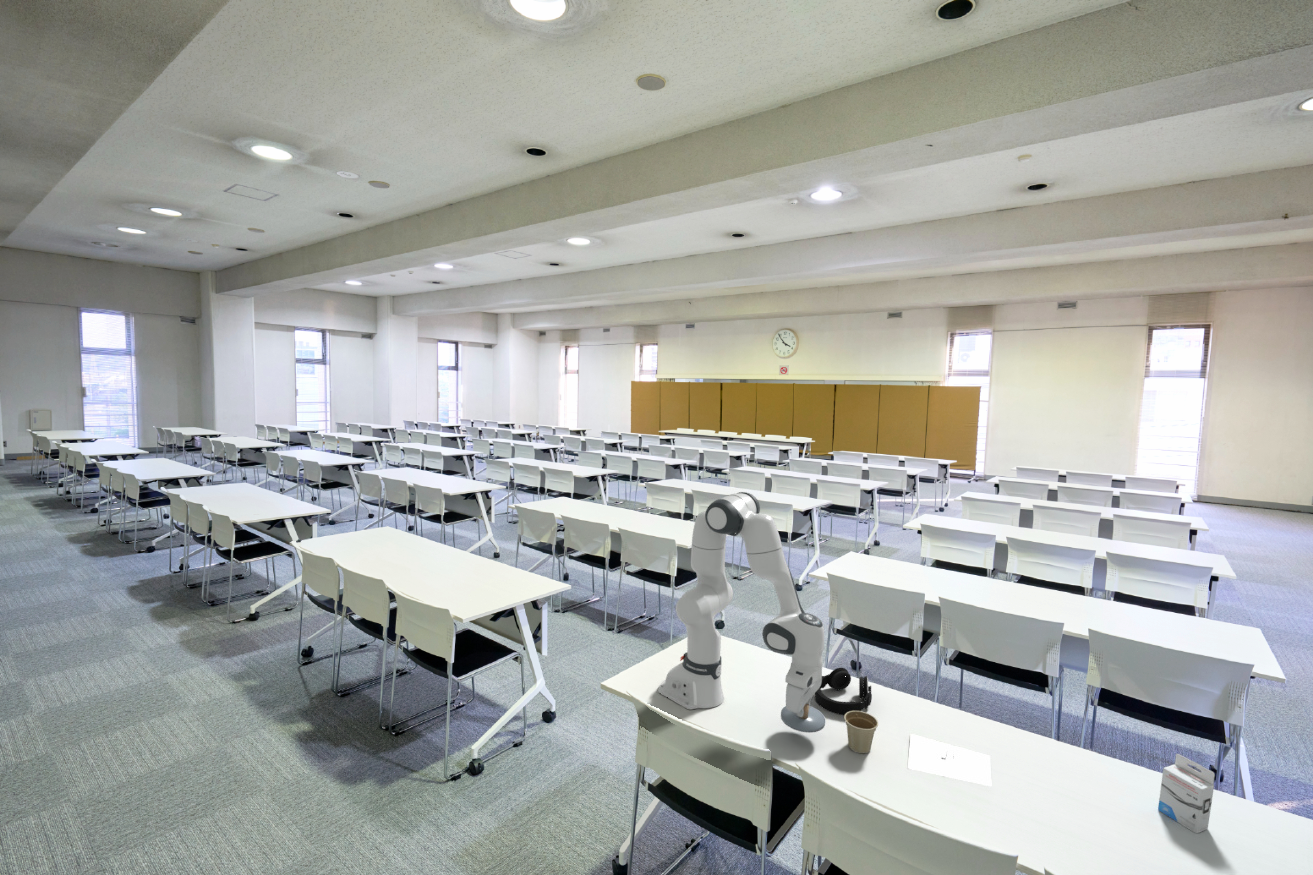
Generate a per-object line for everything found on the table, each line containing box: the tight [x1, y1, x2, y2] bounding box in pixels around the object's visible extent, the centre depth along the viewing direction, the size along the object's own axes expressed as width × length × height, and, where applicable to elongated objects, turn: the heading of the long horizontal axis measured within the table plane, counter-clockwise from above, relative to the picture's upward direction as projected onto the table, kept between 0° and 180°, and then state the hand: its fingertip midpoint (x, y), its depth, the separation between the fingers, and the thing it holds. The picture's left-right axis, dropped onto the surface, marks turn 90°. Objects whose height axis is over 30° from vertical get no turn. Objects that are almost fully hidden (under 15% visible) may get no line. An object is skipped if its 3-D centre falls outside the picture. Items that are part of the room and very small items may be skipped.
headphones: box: [814, 667, 873, 716], centre depth 200 cm, size 18×8×20 cm
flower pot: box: [843, 710, 879, 754], centre depth 175 cm, size 9×9×9 cm
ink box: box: [1157, 753, 1216, 834], centre depth 148 cm, size 9×5×15 cm, turn 21°
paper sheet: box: [907, 733, 992, 787], centre depth 165 cm, size 24×29×1 cm
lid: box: [780, 703, 826, 733], centre depth 179 cm, size 13×13×4 cm
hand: (803, 712), depth 179 cm, fingers closed on lid, 3 cm apart
